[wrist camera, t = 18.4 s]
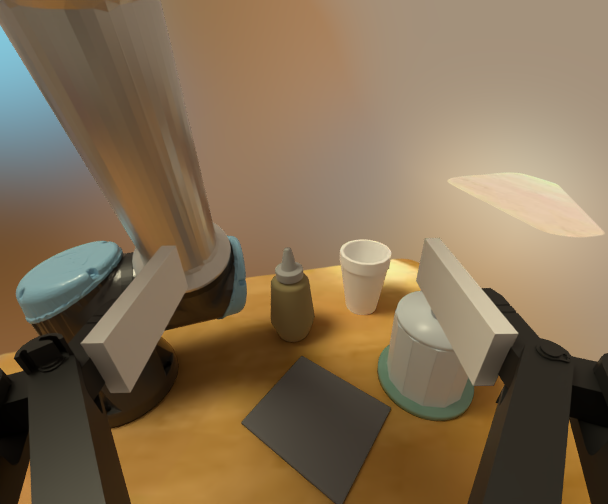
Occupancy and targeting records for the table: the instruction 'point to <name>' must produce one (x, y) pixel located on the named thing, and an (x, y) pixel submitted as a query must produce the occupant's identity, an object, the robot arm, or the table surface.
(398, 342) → the lidded canister
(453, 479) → the table surface
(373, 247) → the foam cup
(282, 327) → the squeeze bottle
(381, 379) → the green and pink dish
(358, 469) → the mat
